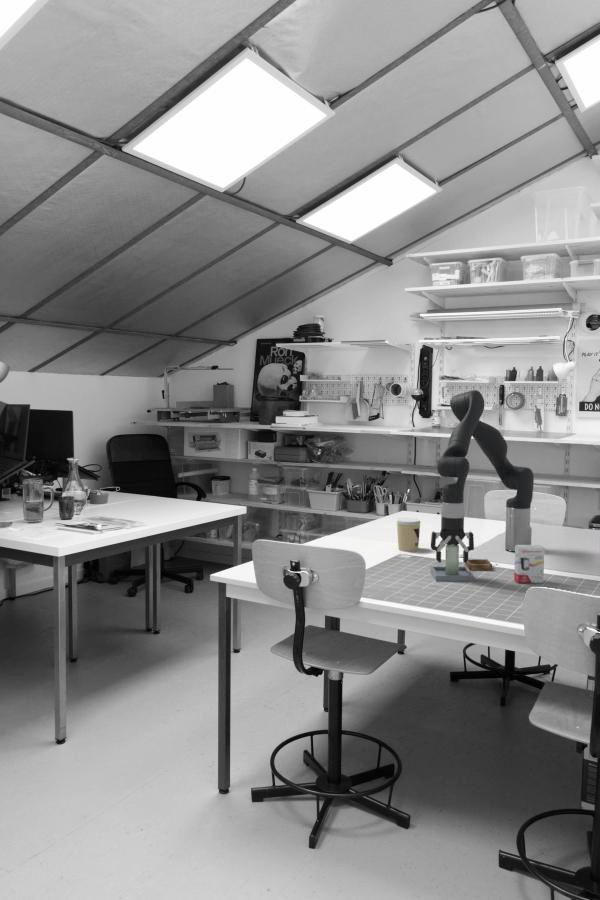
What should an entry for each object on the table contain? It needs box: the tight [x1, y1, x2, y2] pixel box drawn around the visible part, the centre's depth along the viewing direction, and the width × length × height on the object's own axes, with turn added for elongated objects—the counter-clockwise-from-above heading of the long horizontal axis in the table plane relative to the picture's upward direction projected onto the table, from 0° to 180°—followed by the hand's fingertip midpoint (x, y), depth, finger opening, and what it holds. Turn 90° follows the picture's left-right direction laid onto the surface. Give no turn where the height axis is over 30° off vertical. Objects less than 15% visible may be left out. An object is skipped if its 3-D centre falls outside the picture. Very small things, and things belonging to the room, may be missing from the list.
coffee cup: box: [396, 517, 421, 553], centre depth 282 cm, size 9×9×12 cm
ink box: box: [513, 544, 545, 584], centre depth 235 cm, size 9×5×12 cm, turn 89°
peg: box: [444, 544, 460, 575], centre depth 241 cm, size 4×4×10 cm
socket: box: [464, 558, 493, 571], centre depth 254 cm, size 8×8×2 cm
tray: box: [430, 565, 475, 582], centre depth 242 cm, size 13×13×2 cm
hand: (451, 562), depth 242 cm, fingers open, 8 cm apart
